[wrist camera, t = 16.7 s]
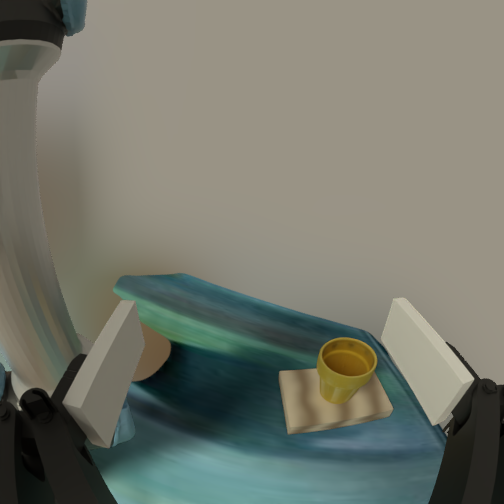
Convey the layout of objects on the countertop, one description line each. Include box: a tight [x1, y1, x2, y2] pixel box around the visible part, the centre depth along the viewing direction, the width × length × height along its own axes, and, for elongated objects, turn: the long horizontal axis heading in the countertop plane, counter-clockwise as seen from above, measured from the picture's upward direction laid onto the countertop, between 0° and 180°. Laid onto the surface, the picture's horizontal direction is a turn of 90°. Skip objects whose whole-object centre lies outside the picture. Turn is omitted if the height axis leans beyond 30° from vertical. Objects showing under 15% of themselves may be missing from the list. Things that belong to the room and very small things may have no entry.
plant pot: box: [317, 338, 377, 404], centre depth 43 cm, size 10×10×10 cm
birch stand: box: [279, 368, 393, 434], centre depth 45 cm, size 20×14×2 cm
